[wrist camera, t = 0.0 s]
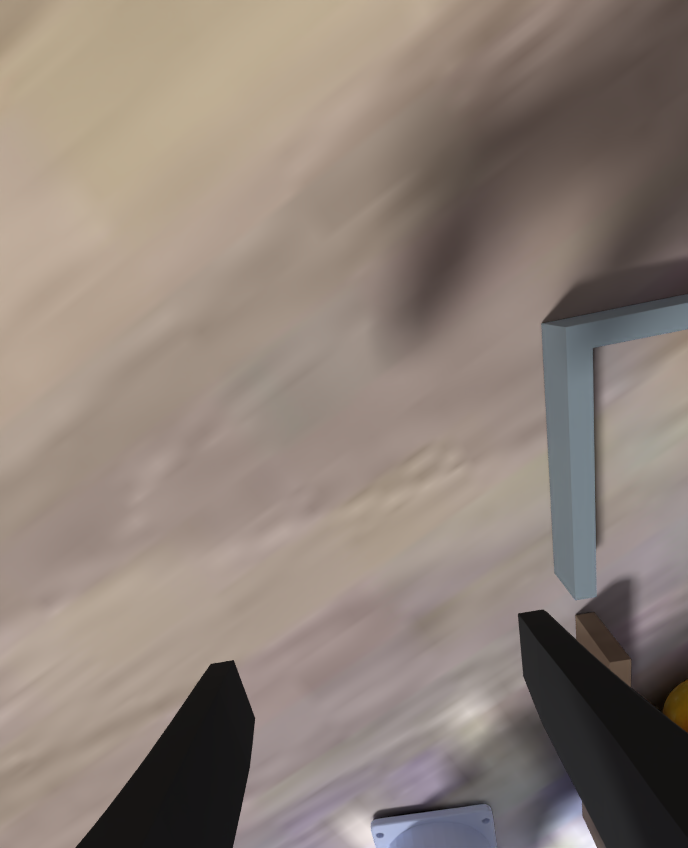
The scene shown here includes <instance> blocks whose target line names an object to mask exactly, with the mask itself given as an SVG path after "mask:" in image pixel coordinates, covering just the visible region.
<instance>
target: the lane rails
mask: <svg viewBox="0 0 688 848" xmlns="http://www.w3.org/2000/svg"><path fill="white" fill-rule="evenodd" d="M575 616H576V640H577V641H578V642H579V643H580V644H582V645H583V646H584V647H585V648H586V649H587V650H588V651H589V652H590V653H591V654H593V655H594V656H595V657H596V658H597V659H598V660H599V661H600V662H602V663H603V664H604V665H605V666H606V667H607V668H609V669H610V670H611V671H612V672H613V673H614V674H616V675H617V676H618V677H619V678H620V679H621V680H623V681H624V682H625V683H626V684H627V685H629V686H630V687H631V658H630V657H629V656H628V654H627V653H626V652H625V651H624V649H623V648H622V647H621V646H620V644H619V643H618V642H617V641H616V639H615V638H614V637H613V635H612V634H611V633H610V632H609V630H608V629H607V628H606V627H605V625H604V624H603V623H602V622H601V620H600V619H599V618H598V616H597V615H596V614H595V613H594V612H592V613H585V614H579V615H575ZM582 814H583V818H584V820H585V822H586V824H587V827H588V829H589V831H590V833H591V835H592V837H593V840H594V842H595V844H596V846H597V848H606V847H605V845H604V843H603V841H602V839H601V837H600V835H599V833H598V831H597V829H596V827H595V825H594V823H593V821H592V819H591V817H590V816H589V814H588V812H587V810H586V808H585V806H584V804H583V802H582Z"/></svg>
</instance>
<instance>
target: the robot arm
mask: <svg viewBox="0 0 688 848" xmlns="http://www.w3.org/2000/svg"><path fill="white" fill-rule="evenodd" d="M518 621H519V632H520V643H521V655H522V666H523V677H524V679H525V682H526V684H527V687H528V689H529V692H530V694H531V697H532V699H533V702H534V704H535V707H536V709H537V712H538V714H539V717H540V719H541V721H542V724H543V726H544V728H545V730H546V732H547V734H548V736H549V738H550V740H551V742H552V744H553V746H554V748H555V750H556V751H557V753H558V755H559V757H560V759H561V761H562V763H563V765H564V767H565V769H566V771H567V773H568V775H569V777H570V779H571V781H572V783H573V785H574V786H575V788H576V790H577V792H578V794H579V796H580V798H581V800H582V802H583V804H584V806H585V808H586V810H587V812H588V814H589V816H590V817H591V819H592V821H593V823H594V825H595V827H596V829H597V831H598V833H599V835H600V837H601V839H602V841H603V843H604V845H605V847H606V848H688V733H687V732H686V731H685V730H683V729H682V728H681V727H680V726H678V725H677V724H676V723H674V722H673V721H672V720H671V719H669V718H668V717H667V716H666V715H664V714H663V713H662V712H660V711H659V710H658V709H657V708H655V707H654V706H653V705H652V704H650V703H649V702H648V701H647V700H645V699H644V698H643V697H642V696H641V695H639V694H638V693H637V692H636V691H634V690H633V689H632V688H631V687H630V686H629V685H627V684H626V683H625V682H624V681H623V680H621V679H620V678H619V677H618V676H617V675H616V674H614V673H613V672H612V671H611V670H610V669H609V668H607V667H606V666H605V665H604V664H603V663H602V662H600V661H599V660H598V659H597V658H596V657H595V656H594V655H593V654H591V653H590V652H589V651H588V650H587V649H586V648H585V647H584V646H583V645H582V644H580V643H579V642H578V641H577V640H576V639H575V638H574V637H573V636H572V635H571V634H570V633H569V632H567V631H566V630H565V629H564V628H563V627H562V626H561V625H560V624H559V623H558V622H557V621H556V620H555V619H554V618H553V617H552V616H551V615H550V614H549V613H547V612H546V611H544V610H537V611H531V612H525V613H519V614H518ZM254 724H255V717H254V714H253V711H252V708H251V706H250V703H249V700H248V698H247V695H246V692H245V689H244V687H243V684H242V681H241V679H240V676H239V673H238V670H237V668H236V665H235V662H234V660H232V661H226V662H220V663H214V664H210V666H209V667H208V669H207V670H206V672H205V673H204V674H203V676H202V677H201V679H200V680H199V682H198V683H197V684H196V686H195V687H194V689H193V690H192V692H191V693H190V695H189V696H188V698H187V699H186V701H185V702H184V704H183V705H182V707H181V708H180V709H179V711H178V712H177V714H176V715H175V717H174V718H173V720H172V721H171V723H170V724H169V725H168V727H167V728H166V730H165V731H164V733H163V734H162V735H161V737H160V738H159V740H158V741H157V742H156V744H155V745H154V747H153V748H152V749H151V751H150V752H149V754H148V755H147V757H146V758H145V759H144V761H143V762H142V763H141V765H140V766H139V767H138V769H137V770H136V771H135V773H134V774H133V775H132V777H131V778H130V779H129V781H128V782H127V783H126V785H125V786H124V787H123V789H122V790H121V791H120V793H119V794H118V795H117V797H116V798H115V799H114V801H113V802H112V803H111V805H110V806H109V807H108V808H107V810H106V811H105V812H104V813H103V815H102V816H101V817H100V818H99V820H98V821H97V822H96V823H95V825H94V826H93V827H92V828H91V830H90V831H89V832H88V833H87V835H86V836H85V837H84V838H83V839H82V841H81V842H80V843H79V844H78V845H77V846H76V848H233V844H234V840H235V835H236V830H237V826H238V821H239V816H240V812H241V807H242V802H243V797H244V793H245V788H246V783H247V778H248V773H249V768H250V760H251V752H252V744H253V734H254ZM371 832H372V836H373V839H374V843H375V846H376V848H497V842H496V835H495V828H494V820H493V814H492V810H491V807H490V806H489V805H486V804H480V805H473V806H466V807H459V808H451V809H444V810H437V811H430V812H423V813H415V814H408V815H401V816H394V817H387V818H379V819H375V820H373V821H372V822H371Z"/></svg>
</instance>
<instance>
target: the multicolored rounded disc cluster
mask: <svg viewBox="0 0 688 848" xmlns="http://www.w3.org/2000/svg"><path fill="white" fill-rule="evenodd" d="M662 712H663V714H664V715H666V716H667V717H668V718H669V719H671V720H672V721H673V722H674V723H676V724H677V725H678V726H680V727H681V728H682V729H683V730H685V731H686V732H687V733H688V680H686V681H684V682H682V683H681V684H679V685H678V686H677V687H675V688H674V689H673V690H672V691H671V693H670V694H669V695H668V697H667V699H666V701H665V703H664V708H663V710H662Z"/></svg>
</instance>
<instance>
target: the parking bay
mask: <svg viewBox="0 0 688 848" xmlns="http://www.w3.org/2000/svg"><path fill="white" fill-rule="evenodd" d="M541 325H542V344H543V363H544V382H545V401H546V420H547V439H548V458H549V477H550V496H551V515H552V534H553V552H554V571H555V574H556V576H557V577H558V578H559V579H560V581H561V582H562V583H563V585H564V586H565V587H566V589H567V590H568V591H569V593H570V594H571V595H572V597H573V598H574V599H575V600H580V599H586V598H592V597H597V594H596V530H595V466H594V402H593V348H595V347H600V346H605V345H610V344H615V343H620V342H625V341H630V340H635V339H640V338H645V337H650V336H655V335H661V334H666V333H671V332H676V331H681V330H686V329H688V294H685V295H680V296H675V297H670V298H665V299H660V300H655V301H650V302H645V303H640V304H635V305H631V306H626V307H621V308H616V309H611V310H606V311H601V312H596V313H591V314H586V315H581V316H576V317H571V318H566V319H562V320H557V321H552V322H547V323H542V324H541Z"/></svg>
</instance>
